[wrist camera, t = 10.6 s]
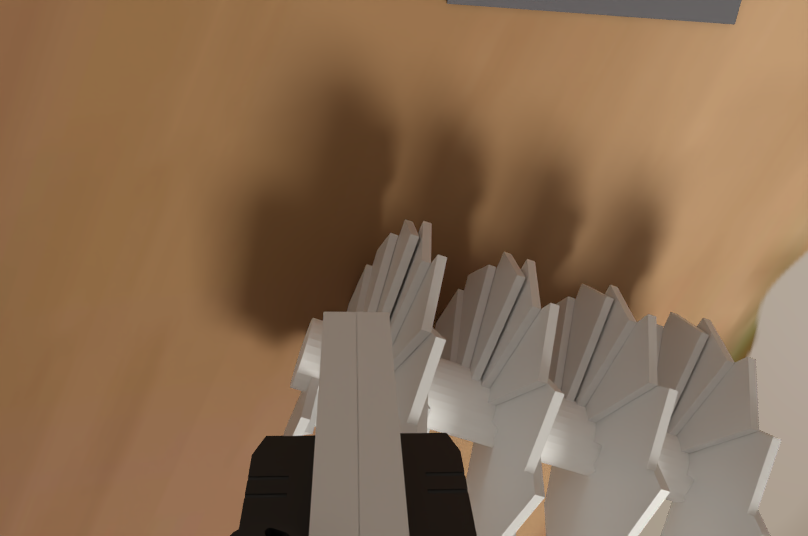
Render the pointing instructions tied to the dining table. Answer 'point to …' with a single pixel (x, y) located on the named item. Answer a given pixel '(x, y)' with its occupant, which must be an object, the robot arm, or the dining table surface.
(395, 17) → the dining table surface
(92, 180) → the dining table surface
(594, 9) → the mat
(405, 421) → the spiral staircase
